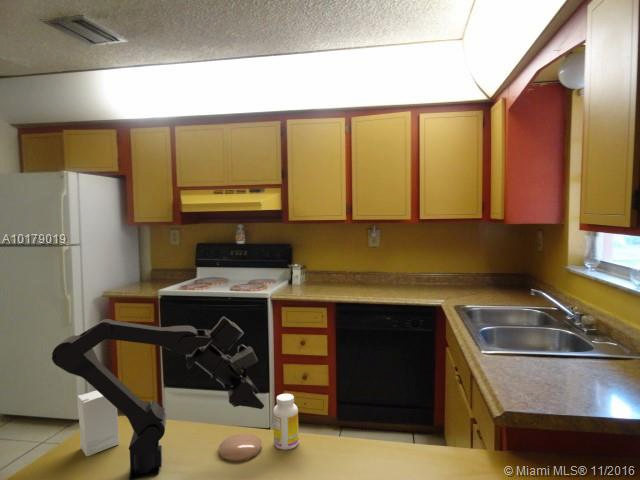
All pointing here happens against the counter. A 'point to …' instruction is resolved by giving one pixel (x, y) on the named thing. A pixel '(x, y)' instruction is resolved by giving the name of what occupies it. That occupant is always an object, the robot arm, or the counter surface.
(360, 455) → the counter surface
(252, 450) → the terracotta round disc
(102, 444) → the skincare box
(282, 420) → the supplement bottle
